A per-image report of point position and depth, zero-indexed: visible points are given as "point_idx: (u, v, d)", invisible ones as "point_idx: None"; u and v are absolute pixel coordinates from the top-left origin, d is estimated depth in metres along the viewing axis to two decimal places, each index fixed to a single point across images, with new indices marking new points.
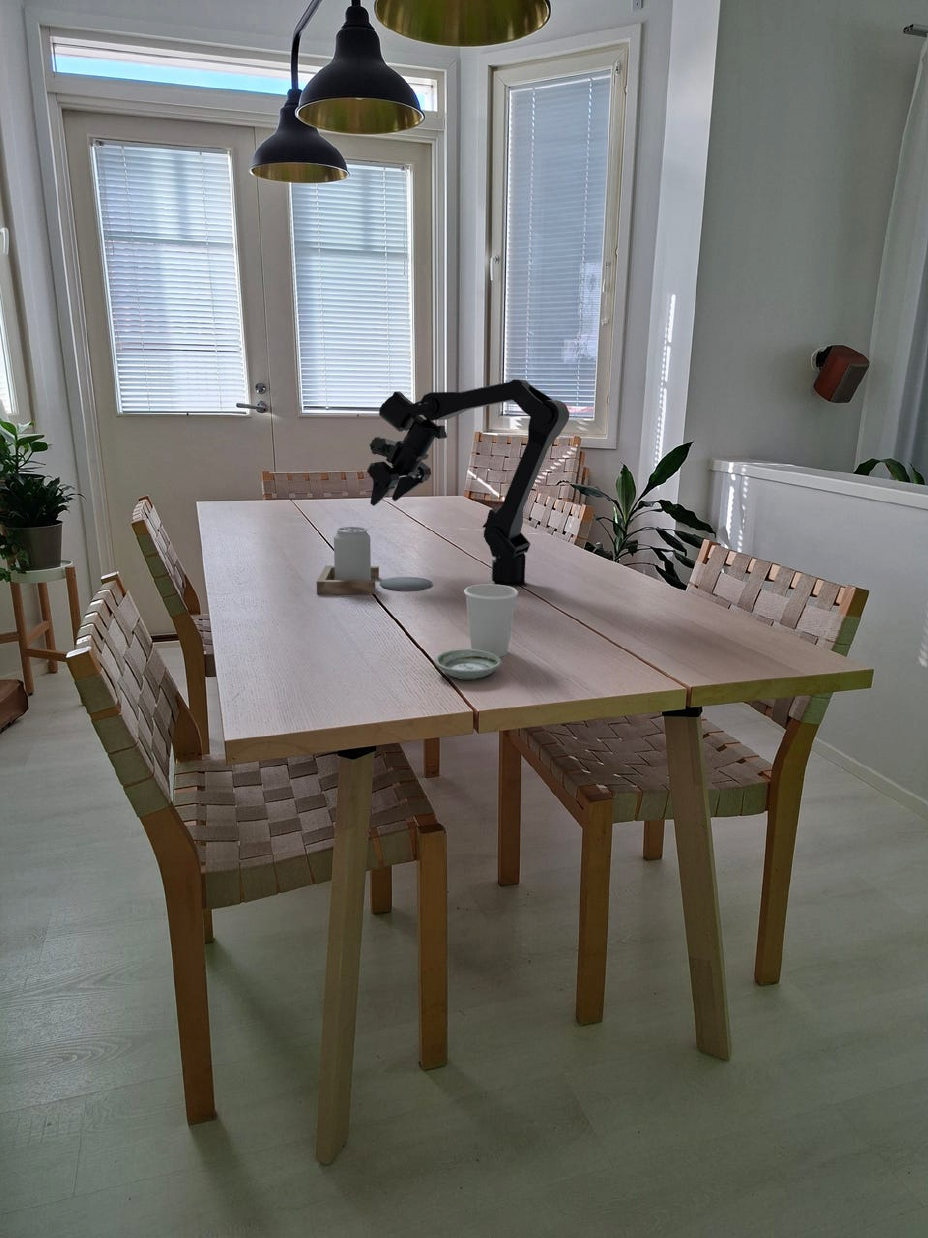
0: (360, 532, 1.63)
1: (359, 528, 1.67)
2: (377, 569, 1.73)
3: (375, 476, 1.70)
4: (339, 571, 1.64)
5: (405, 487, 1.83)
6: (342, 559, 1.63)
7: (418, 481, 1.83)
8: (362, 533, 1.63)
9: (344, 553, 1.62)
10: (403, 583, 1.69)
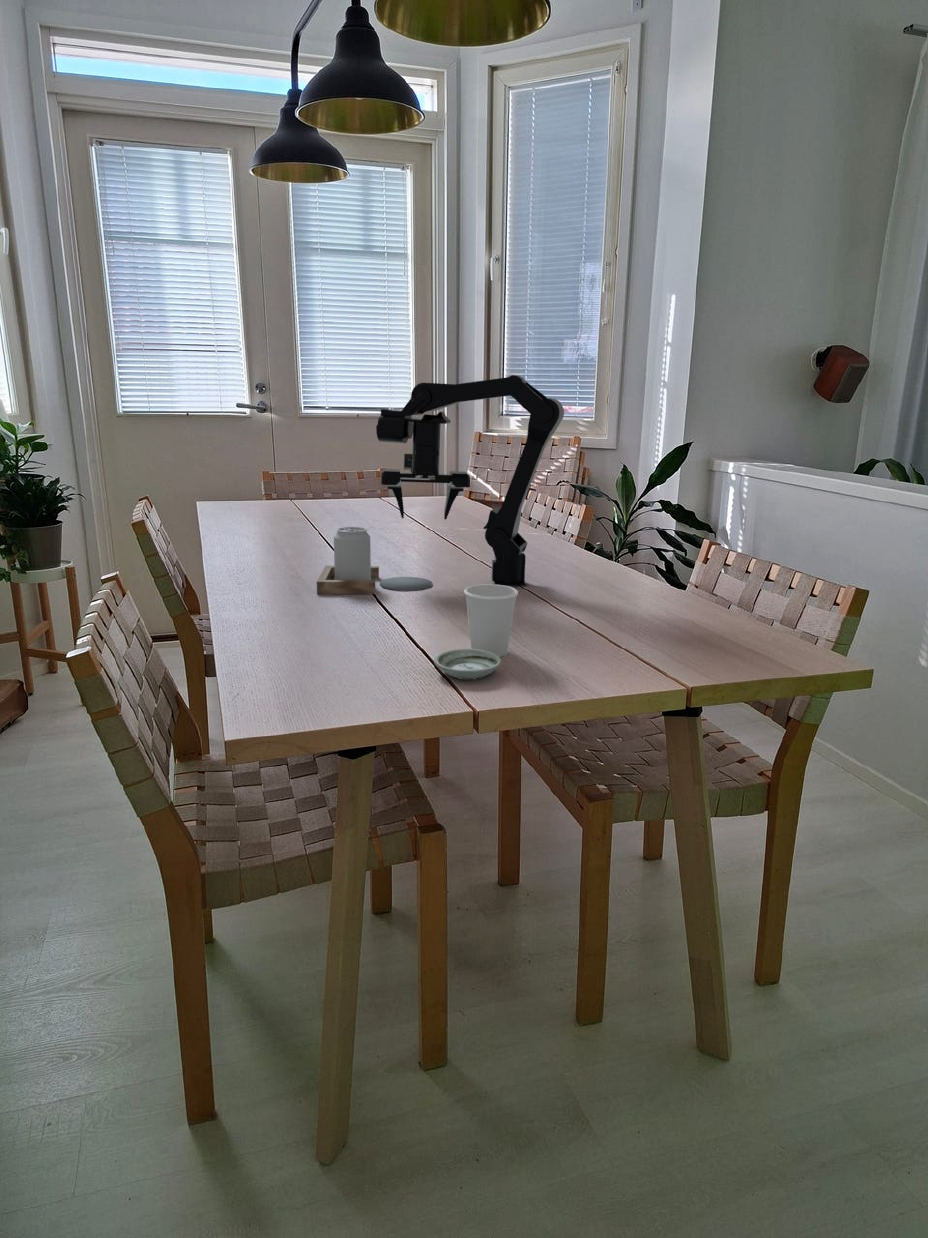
0: (360, 532, 1.63)
1: (359, 528, 1.67)
2: (377, 569, 1.73)
3: None
4: (339, 571, 1.64)
5: (447, 500, 1.72)
6: (342, 559, 1.63)
7: (453, 488, 1.70)
8: (362, 533, 1.63)
9: (344, 553, 1.62)
10: (403, 583, 1.69)
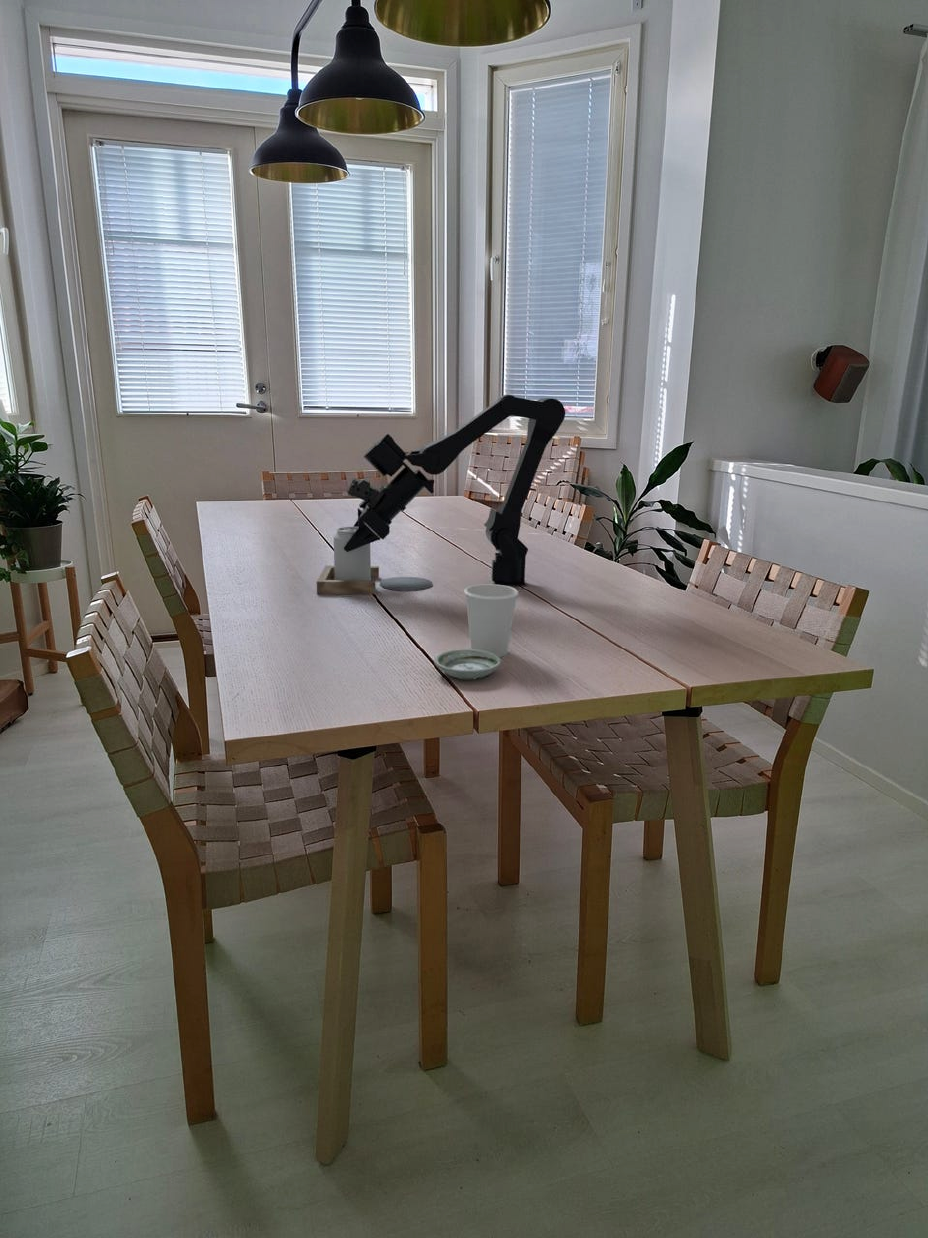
0: None
1: None
2: (377, 569, 1.73)
3: (371, 526, 1.56)
4: (338, 570, 1.64)
5: None
6: (342, 559, 1.63)
7: None
8: None
9: (344, 553, 1.62)
10: (403, 583, 1.69)
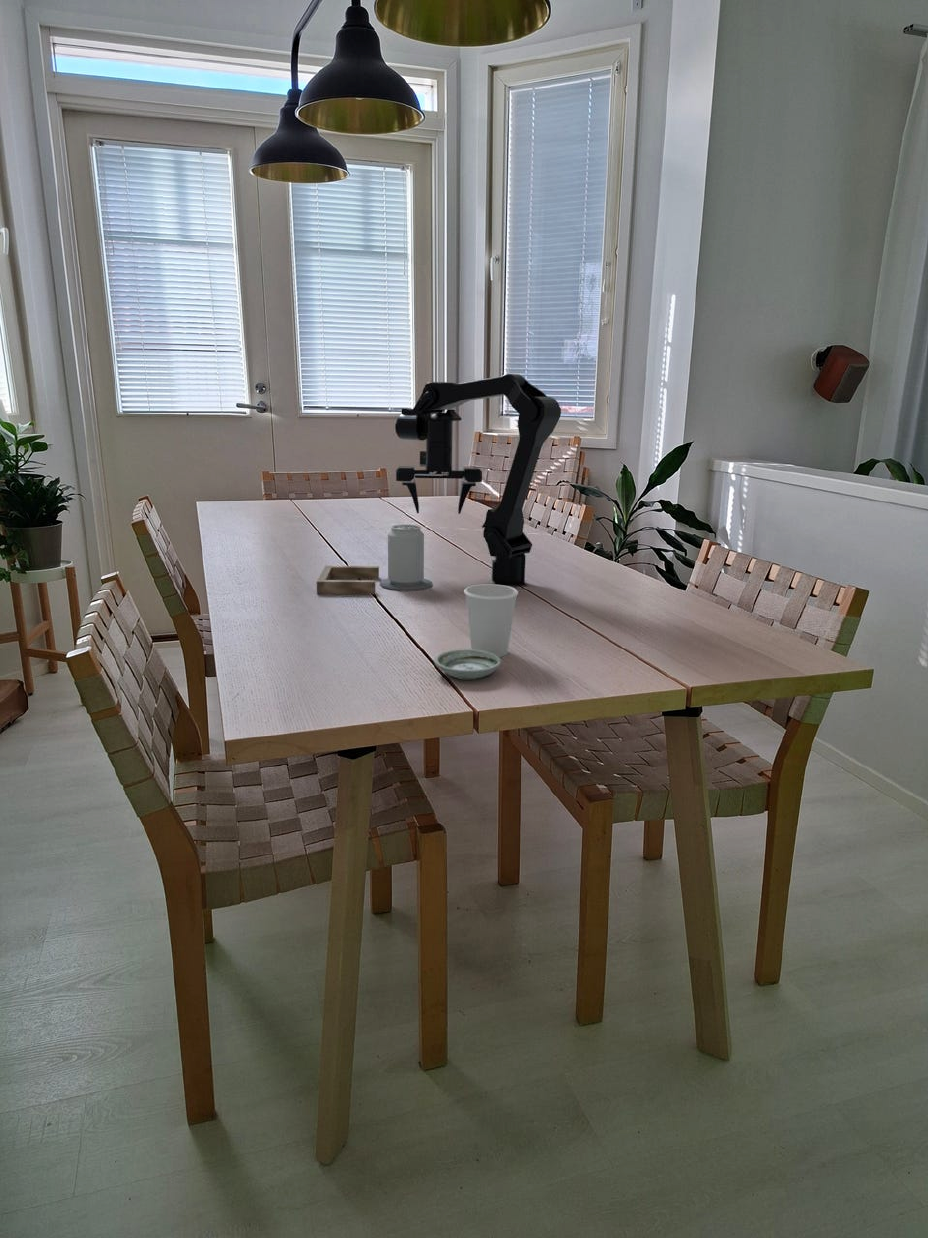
0: (415, 530, 1.64)
1: (412, 526, 1.69)
2: (377, 569, 1.73)
3: None
4: (393, 568, 1.66)
5: (460, 495, 1.78)
6: (397, 556, 1.64)
7: (465, 483, 1.76)
8: (417, 530, 1.65)
9: (399, 551, 1.64)
10: None
